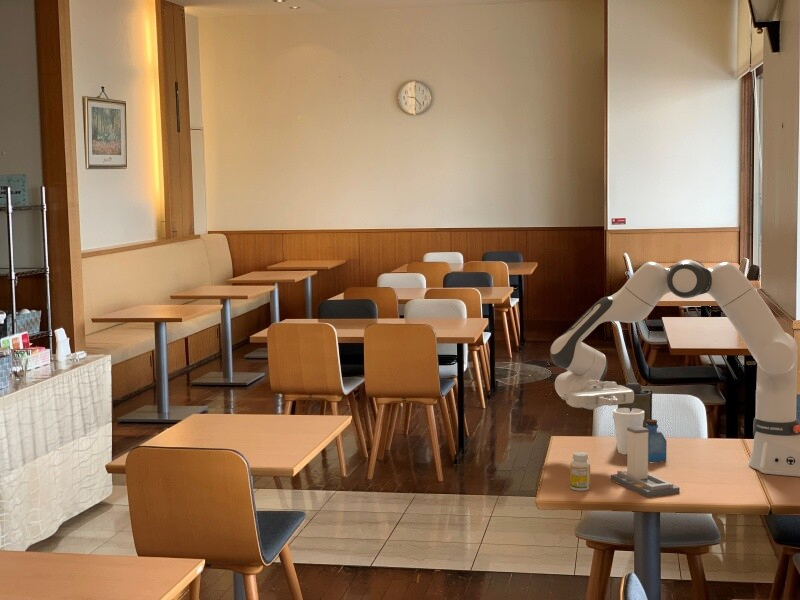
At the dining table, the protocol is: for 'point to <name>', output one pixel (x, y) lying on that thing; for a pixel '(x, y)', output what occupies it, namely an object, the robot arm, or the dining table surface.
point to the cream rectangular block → (637, 452)
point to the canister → (640, 401)
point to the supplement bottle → (580, 472)
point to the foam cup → (626, 425)
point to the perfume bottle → (655, 443)
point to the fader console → (645, 484)
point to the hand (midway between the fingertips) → (614, 402)
